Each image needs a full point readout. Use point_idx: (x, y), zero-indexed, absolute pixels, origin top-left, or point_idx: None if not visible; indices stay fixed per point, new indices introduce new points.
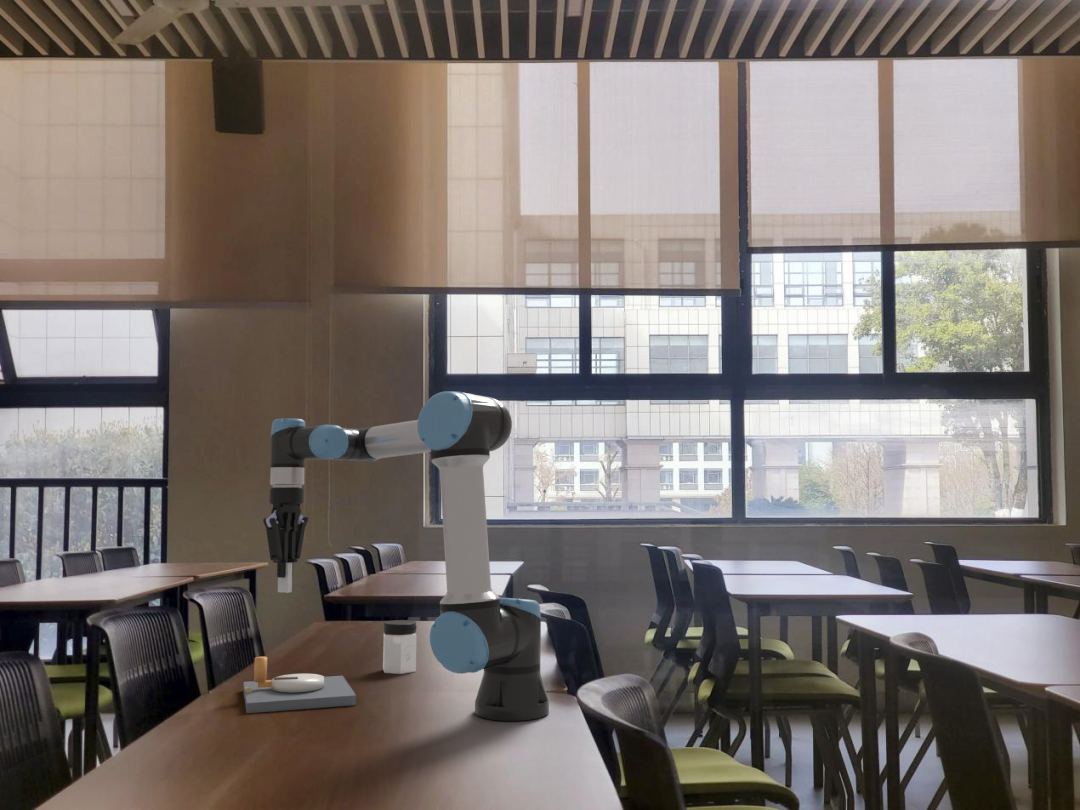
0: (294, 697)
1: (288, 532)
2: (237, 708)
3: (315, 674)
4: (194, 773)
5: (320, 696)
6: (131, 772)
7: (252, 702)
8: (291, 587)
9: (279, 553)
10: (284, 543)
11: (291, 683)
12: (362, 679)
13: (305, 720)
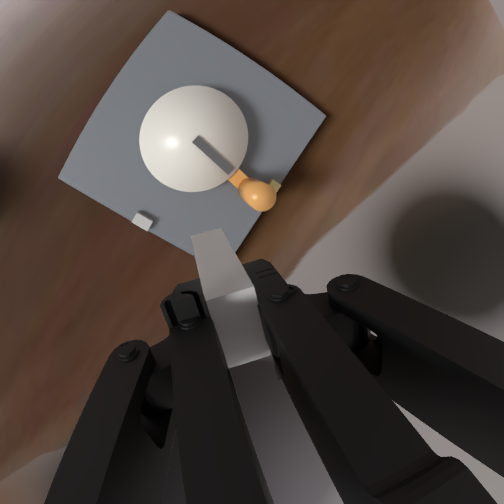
0: (250, 80)
1: (368, 496)
2: (306, 157)
3: (142, 146)
4: (458, 3)
5: (215, 49)
6: (482, 52)
7: (318, 111)
8: (194, 242)
9: (381, 294)
10: (366, 373)
11: (236, 108)
12: (16, 188)
13: (291, 11)
